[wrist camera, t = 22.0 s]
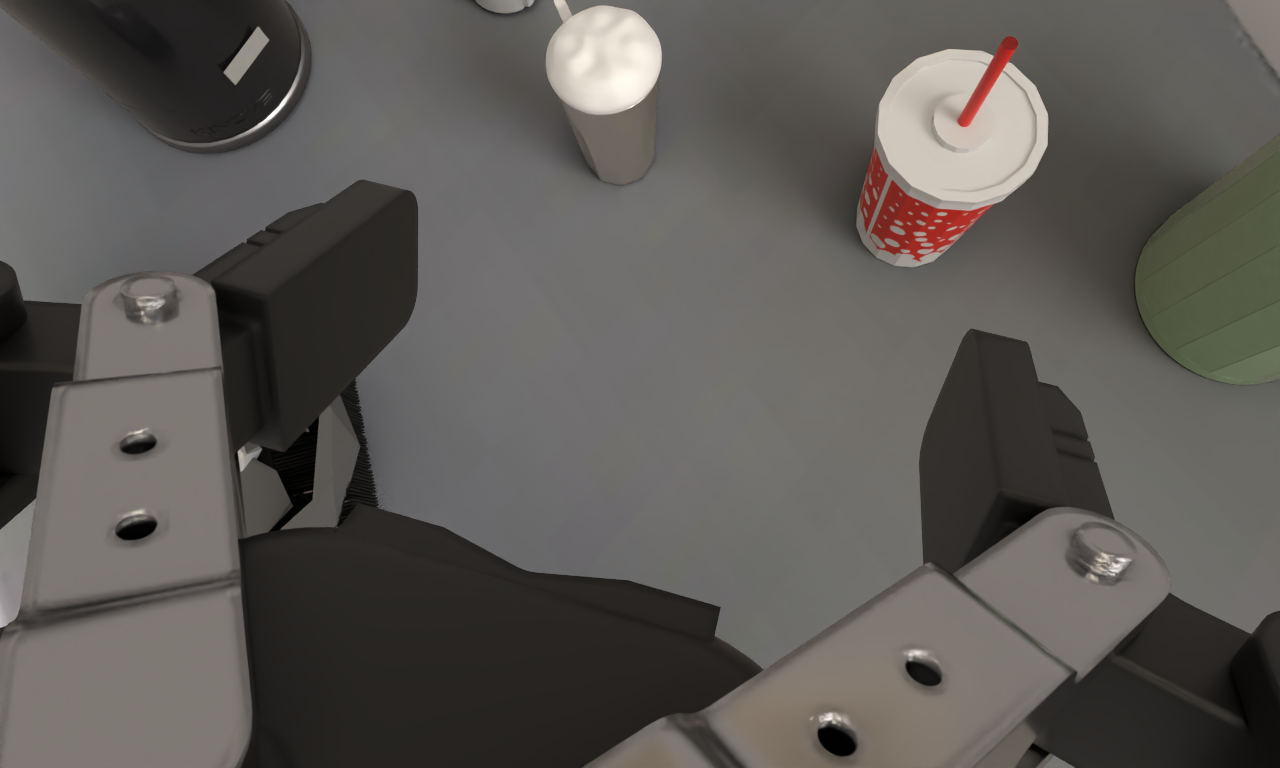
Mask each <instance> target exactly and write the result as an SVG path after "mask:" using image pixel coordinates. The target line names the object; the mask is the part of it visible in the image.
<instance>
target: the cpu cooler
mask: <svg viewBox="0 0 1280 768" xmlns="http://www.w3.org/2000/svg"><path fill="white" fill-rule="evenodd" d="M354 380H355V379H354ZM354 380H353V381H352V382H351V383H350V384H349V385H348V386H347V387H346V388H345V389H344V391H343V392H342V393H341V394H340V395H339V396H338V397H337V398H336V399H335V400H334V401H333V402H332V403H331V404H330V405H329V406H328V407H327V408H326V409H325V410H324V411H323V412H322V413H321V414H320V416H319V417H318V418H317V419H316V420H315V421H314V422H313V423H312V424H311V425H310V426H309V427H308V428H307V429H306V430H305V431H304V432H303V433H302V434H301V435H300V436H299V437H298V438H297V440H296V441H295V442H294V443H293V444H292V445H291V446H290V447H289V448H288V449H287V450H286V451H285V452H281V451H277V450H274V449H270V448H267V447H263V446H259V445H256V444H252V443H249V442H247V443H246V444H245V445H244V446H243V447H242V448H241V449H240V450H239V451H238V457H239V464H240V471H241V480H242V489H243V498H244V507H245V517H246V526H247V535H248V537H250V536H254V535H257V534H261V533H267V532H272V531H278V530H283V529H293V528H303V527H337V528H339V527H340V525H341V524H342V523H343V522H344V520H345V519H346V518H347V517H348V515H349V514H350V513H351V511H352V510H353V509H354V508H355V506H356V505H357V504H358V503H361V504H364V505H368V506H371V507H375V506H378V504H376V502H378V500H375V499H377V497H373V496H377V495H373V494H372V493H376V491H375V490H373V489H375V487H373V486H375V484H371V483H374V481H373V479H374V478H373V477H371V476H373V474H370V473H372V471H371V470H368V469H369V468H371V467H369V466H371V464H368V463H370V462H368V461H367V460H370V458H368V457H369V454H366V453H368V452H367V451H365V450H368V448H366V445H364V444H367V442H366V438H363V437H365V436H363V435H361V434H363V433H365V432H362V431H364V430H362V429H361V428H364V426H363V422H361V421H363V419H361V418H362V416H361V414H360V413H358V412H360V411H361V409H360V408H361V407H360V406H358V405H356V404H360V403H358V402H359V400H358V399H359V397H358V394H357V393H358V391H357V390H355V389H357V388H355V387H354V386H355V383H356V382H355V381H354ZM375 508H379V507H375Z"/></svg>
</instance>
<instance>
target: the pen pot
mask: <svg viewBox="0 0 1280 768" xmlns="http://www.w3.org/2000/svg"><path fill="white" fill-rule="evenodd" d="M1135 294H1136V300H1137V305H1138V308H1139V311H1140V314H1141V317H1142V319H1143V321H1144V323H1145V326H1146V328H1147V329H1148V331H1149V332H1150V334H1151V335H1152V337H1153V338H1154V340H1155V341H1156V342H1157V343H1158V345H1159V346H1160V347H1161V348H1162V349H1163V350H1164V351H1165V352H1166V353H1167V354H1168V355H1169V356H1170V357H1171V358H1173V359H1174V360H1175V361H1177V362H1178V363H1179V364H1181V365H1182V366H1184V367H1186V368H1187V369H1189V370H1191V371H1192V372H1194V373H1197V374H1199V375H1201V376H1204V377H1206V378H1209V379H1212V380H1216V381H1219V382H1224V383H1230V384H1240V385H1252V384H1262V383H1267V382H1272V381H1275V380H1278V379H1280V134H1279V135H1277V136H1276V137H1275V138H1273V139H1272V140H1271V141H1269V142H1268V143H1267V144H1265V145H1264V146H1263V147H1261V148H1260V149H1259V150H1257V151H1256V152H1255V153H1253V154H1252V155H1251V156H1249V157H1248V158H1247V159H1245V160H1244V161H1243V162H1242V163H1240V164H1239V165H1238V166H1236V167H1235V168H1234V169H1232V170H1231V171H1230V172H1228V173H1227V174H1226V175H1224V176H1223V177H1222V178H1220V179H1219V180H1218V181H1216V182H1215V183H1214V184H1212V185H1211V186H1210V187H1208V188H1207V189H1206V190H1205V191H1203V192H1202V193H1201V194H1199V195H1198V196H1197V197H1195V198H1194V199H1193V200H1191V201H1190V202H1189V203H1187V204H1186V205H1185V206H1183V207H1182V208H1181V209H1179V210H1178V211H1177V212H1175V213H1174V214H1173V215H1171V216H1170V217H1169V218H1168V219H1167V220H1166V222H1165V223H1164V224H1162V225H1161V226H1160V227H1159V228H1158V229H1157V230H1156V231H1155V232H1154V233H1153V235H1152V236H1151V237H1150V238H1149V240H1148V241H1147V243H1146V245H1145V246H1144V248H1143V250H1142V253H1141V255H1140V257H1139V260H1138V264H1137V268H1136V275H1135Z"/></svg>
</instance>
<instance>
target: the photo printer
mask: <svg viewBox="0 0 1280 768" xmlns="http://www.w3.org/2000/svg"><path fill="white" fill-rule="evenodd" d="M475 1H476V2H477V3H478V4H479V5H480V6H482V7H483V8H485V9H487V10H490V11H493V12H497V13H513V12H517V11H520V10H522V9H524V7H525V6H527V7H530V6H531V5H532V4H533V2H534V1H535V0H475Z"/></svg>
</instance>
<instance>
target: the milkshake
mask: <svg viewBox="0 0 1280 768" xmlns="http://www.w3.org/2000/svg"><path fill="white" fill-rule="evenodd" d="M553 2H554V4H555V6H556V8H557V11H558V13H559V15H560V17H561V19H562V22H563V24H562V25H561V26H560V27H559V28H558V30H557V31H556V32H555V33H554V35H553V36H552V38H551V40H550V42H549V45H548V48H547V54H546V71H547V76H548V79H549V82H550V84H551V86H552V88H553V90H554V92H555V94H556V96H557V98H558V100H559V102H560V104H561V106H562V108H563V110H564V112H565V114H566V116H567V118H568V120H569V123H570V125H571V127H572V129H573V132H574V134H575V136H576V139H577V141H578V143H579V145H580V148H581V150H582V152H583V154H584V157H585V159H586V161H587V163H588V165H589V167H590V168H591V169H592V170H593V171H594V172H595V173H596V175H597V176H598V177H599V178H600V179H601V181H605V182H609V183H613V184H617V185H625V184H628V183H630V182H633V181H636V180H638V179H641V178H642V177H643V176H644V175H645V173H646V172H647V170H648V169H649V167H650V166H651V165H652V163H653V162H654V150H655V127H656V109H657V99H658V90H659V80H660V70H661V63H662V51H661V46H660V42H659V40H658V37H657V35H656V34H655V32H654V31H653V29H652V28H651V27H650V26H649V25H648V23H647V22H646V21H645V20H644V19H643V18H642V17H641V16H640V15H638V14H637V13H635V12H634V11H631V10H628V9H622V8H616V7H611V6H595V7H591V8H588V9H586V10H583V11H581V12H579V13H577V14H575V15H574V16H572V14H571V11H570V9H569V7H568V5H567V2H566V0H553Z"/></svg>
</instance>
